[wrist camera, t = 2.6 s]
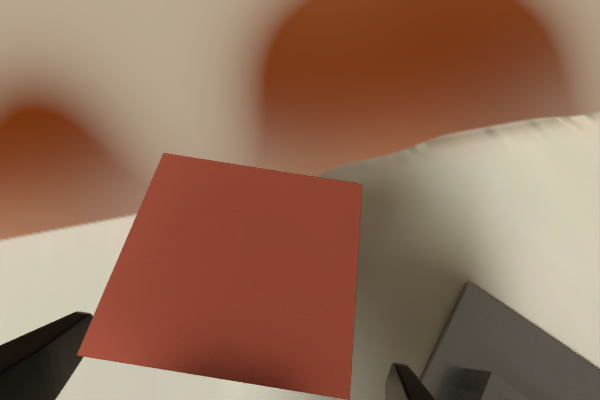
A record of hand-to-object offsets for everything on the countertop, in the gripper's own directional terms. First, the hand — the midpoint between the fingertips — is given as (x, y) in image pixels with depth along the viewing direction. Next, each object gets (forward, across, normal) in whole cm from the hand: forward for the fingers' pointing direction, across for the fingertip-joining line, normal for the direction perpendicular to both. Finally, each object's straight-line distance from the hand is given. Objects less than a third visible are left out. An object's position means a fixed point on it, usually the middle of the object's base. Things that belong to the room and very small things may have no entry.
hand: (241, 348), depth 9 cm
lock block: (+8, 0, +5) cm, 10 cm away
